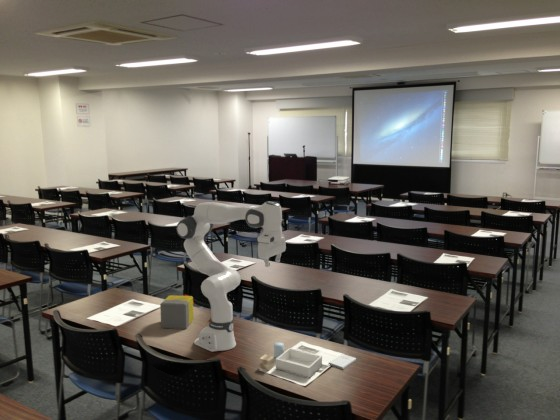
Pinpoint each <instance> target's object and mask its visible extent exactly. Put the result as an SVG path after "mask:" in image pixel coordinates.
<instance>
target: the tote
mask: <svg viewBox="0 0 560 420" xmlns="http://www.w3.org/2000/svg"><path fill="white" fill-rule="evenodd" d="M322 366H323V356H322V355H319V354H315V353H311V352H307V351H304V350H299V349H295V348H291V347H289V348H287V350H284V353H283V354H281V355H280V356H279V357H277V358H276V359H275V370H278V371H281V372H285V373H289V374H292V375H297V376H298V377H302V376H303V378H306V377H308V378H307V379H310V378H311V377H312V376H314V374H316V372H317V371H319V370H320V369H321V368H322ZM309 377H310V378H309Z"/></svg>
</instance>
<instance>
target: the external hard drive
mask: <svg viewBox="0 0 560 420" xmlns="http://www.w3.org/2000/svg"><path fill="white" fill-rule="evenodd" d="M356 361H357V358H356V357H354V356H351V355H347V354H345V353H341V354H340V355H338V356H337V357H335V358H333V359H332V360H330V361H329V362H328V365H329V364H330V365H329V366H331V365H332V367H334V368H337V369H341V370H345V369H346V368H347V367H350V365H352V364H353V363H354V362H356Z"/></svg>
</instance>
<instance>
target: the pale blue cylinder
mask: <svg viewBox="0 0 560 420" xmlns="http://www.w3.org/2000/svg"><path fill="white" fill-rule="evenodd" d="M273 348H274V349H273V357H274V360H276V358H277V357H279V356H280V355H281V354H283V353H284V352H285V343H284V342H280V341H278V342H274V343H273Z"/></svg>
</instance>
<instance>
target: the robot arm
mask: <svg viewBox="0 0 560 420" xmlns="http://www.w3.org/2000/svg"><path fill="white" fill-rule="evenodd" d="M240 220H245V222H246V224H247V225H248V227H250V228H253V229H258V228H262V229H263V230H262V231H263V232H262V233H261V234H260V235H259V236H258V237H257V242H258V243H257V244H258V245H257V254H258V255H257V256H258V258H259V259H261V260H263V261H264V267H265V268H266V267H267V268H268V267H270V266H271V265H270V264H271V263H270V262H269V261H270V258H271V257H274V256H275V260H274V261H275V263H280V262H281V256H282V253H284V252H286V249H287V246H286V245H287V244H286V238H285V235H284V233H283V227H282V222H283V211H282V206H281V204H280V203H278V202H276V201H270V200H268V201H265V202H264V203H262V204H261V205H259V206H255V207H251V206H250V207H249V206H237V205H232V204H227V203H223V202H222V203H221V202H217V201H216V202H213V201H209V202H207V201H206V202H200V203H198V204H197V205H196V206H195V207H194V211H193V215H187V216H186V217H184V218H183V219H181V220H180V221H179V222H178V223H177V224H176V233H177V235H178V236H179V237H180V238H181V239H185V240H184V242H183V249H184V250H185V252H186V254H187V256H188V257H189V259H190V261H191V262H192V263H193V264H194V265H195V266H194V267H196V269H197V270H198V272H200V273H201V274H204V275H206V276H208V277H207V278H206V279H204V280H203V281H202V282H201V285H200V290H201V293H202V294H203V296H204V298H206V299H207V300H208V302H209V304H210V314H211V316H210V317H211V318H209V319H208V320H207V322H206V323H208V324H207V325H206V326H205V327H204V328H202V329H201V330H200V332H199V334H198V338H196V339H195V340H194V342H193V343H194V344H193V345H195V346H198V347H200V348H202V349H205V350H206V351H210V352H219V351H221V352H222V351H228V350H231V349H234V348H235V347H236V346H237V343H236V338H235V334H234V324H235V323H234V317H233V316H234V314H233V308H234V307H233V303H232V302H231V301H229V299H228V296H227V295H228V293H229V292H231V291H233V290H235V289H236V288H237V287H238V286H240V284H241V281H242V278H241V275H240V273H239V271H237V270H235V269H232V268H230V267H228V266H226V265H225V264H224V263H223V262H221V261H220V260H219V259H218V257H216V256H215V254H214V253H213V251H212V250H211V249H210V248H209V246H208V245H207V244H206V241H205V240H204V239H206V238H209V235H210V233H211V232H212V230H213V228H214V225H223V224H228V223H233V222H235V221H240Z"/></svg>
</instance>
